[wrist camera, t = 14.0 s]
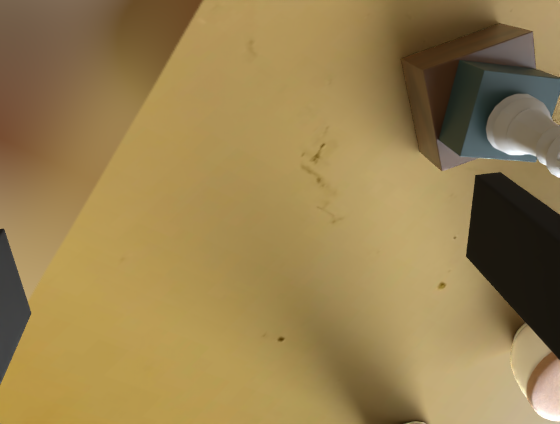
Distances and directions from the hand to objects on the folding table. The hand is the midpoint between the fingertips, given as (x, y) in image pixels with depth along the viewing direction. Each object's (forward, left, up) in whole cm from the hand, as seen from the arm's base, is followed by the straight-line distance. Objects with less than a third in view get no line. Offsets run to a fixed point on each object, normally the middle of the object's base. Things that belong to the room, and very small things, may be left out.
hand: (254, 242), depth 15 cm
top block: (+5, +21, -27) cm, 35 cm away
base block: (+5, +21, -32) cm, 39 cm away
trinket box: (+35, +34, -32) cm, 58 cm away
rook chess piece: (+5, +21, -23) cm, 32 cm away
